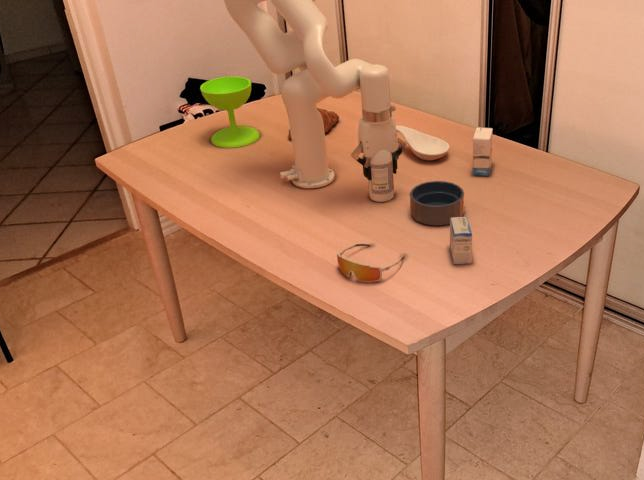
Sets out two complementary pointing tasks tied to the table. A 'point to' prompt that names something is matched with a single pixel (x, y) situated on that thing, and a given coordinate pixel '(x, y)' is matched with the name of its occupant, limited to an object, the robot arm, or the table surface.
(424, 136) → the spoon rest
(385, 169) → the bath foam
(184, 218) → the table surface
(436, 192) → the bowl
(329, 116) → the pastry
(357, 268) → the sunglasses
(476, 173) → the ink box
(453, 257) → the medicine box
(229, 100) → the wineglass
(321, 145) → the robot arm
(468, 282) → the table surface
